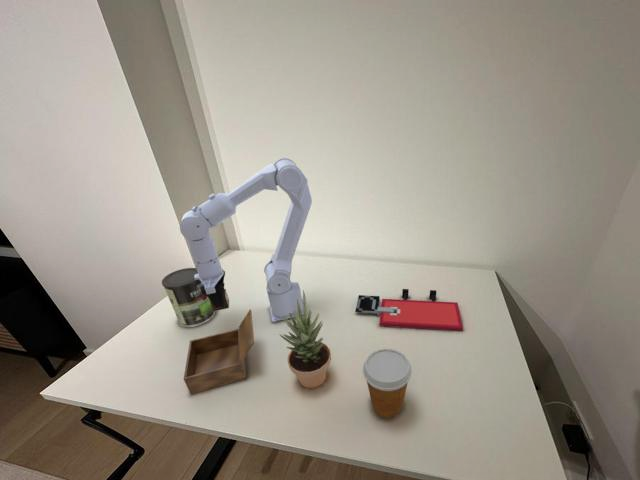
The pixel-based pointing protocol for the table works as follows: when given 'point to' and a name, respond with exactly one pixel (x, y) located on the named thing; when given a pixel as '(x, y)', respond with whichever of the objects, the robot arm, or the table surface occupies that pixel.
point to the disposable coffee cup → (387, 380)
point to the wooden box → (214, 362)
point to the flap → (246, 335)
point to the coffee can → (188, 298)
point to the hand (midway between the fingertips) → (220, 301)
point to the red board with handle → (413, 312)
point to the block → (226, 302)
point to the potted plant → (307, 349)
